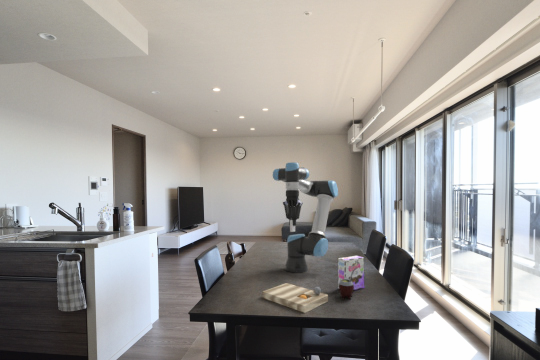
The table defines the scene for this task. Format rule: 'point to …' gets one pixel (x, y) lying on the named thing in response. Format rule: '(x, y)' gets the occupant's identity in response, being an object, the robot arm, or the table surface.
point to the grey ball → (317, 290)
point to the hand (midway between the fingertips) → (292, 231)
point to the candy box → (348, 266)
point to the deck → (295, 297)
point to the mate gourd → (346, 287)
